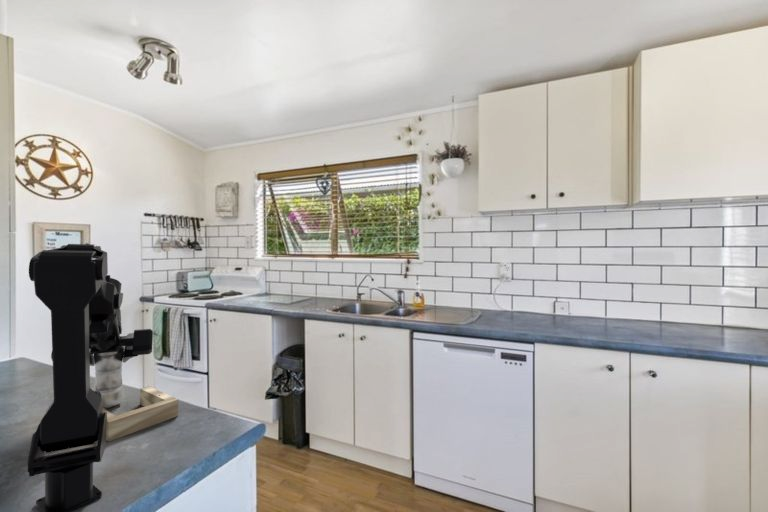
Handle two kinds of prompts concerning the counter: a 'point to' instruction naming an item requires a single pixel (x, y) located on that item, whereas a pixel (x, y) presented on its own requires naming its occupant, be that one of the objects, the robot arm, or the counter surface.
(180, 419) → the counter surface
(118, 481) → the counter surface
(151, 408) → the bracket
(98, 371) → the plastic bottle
